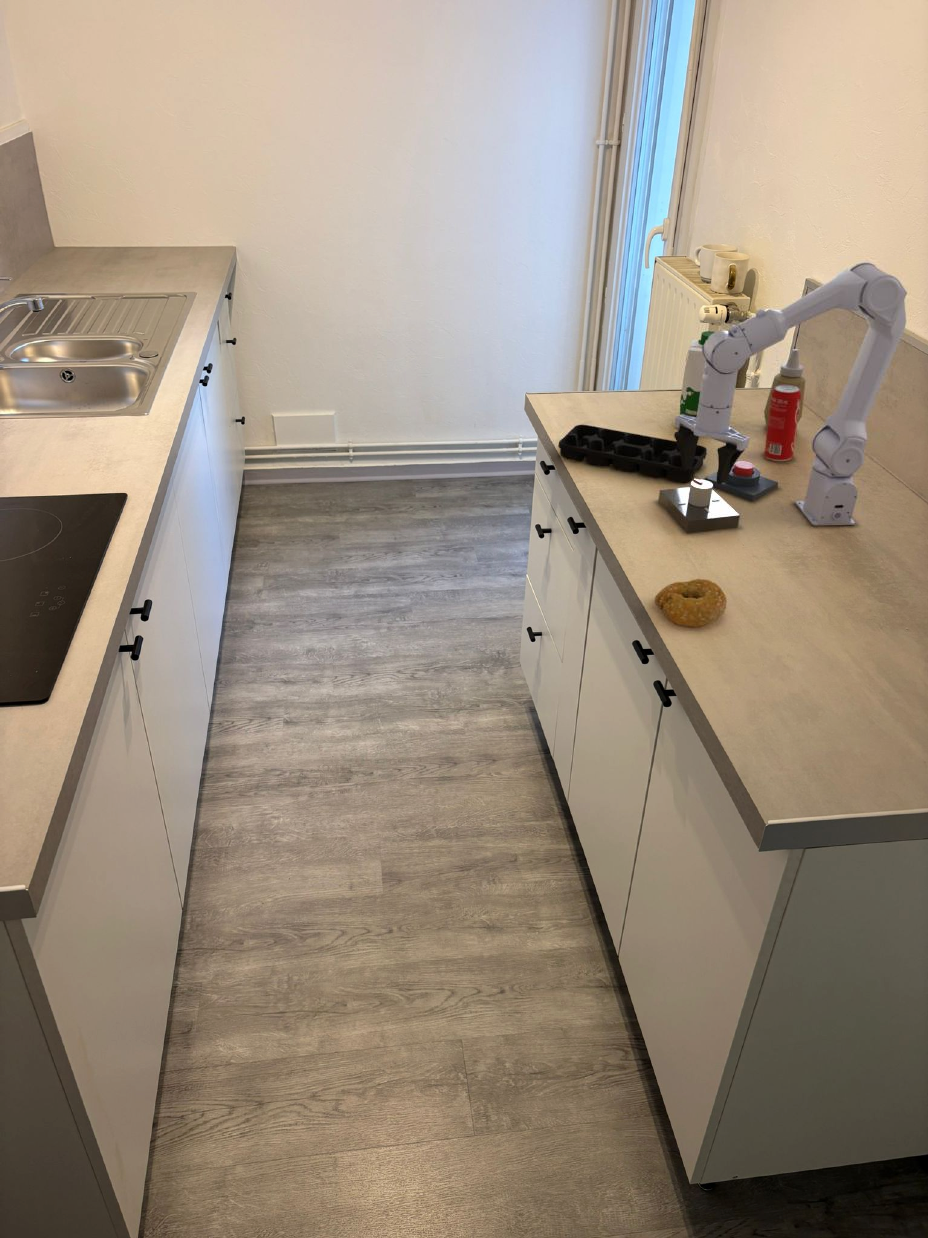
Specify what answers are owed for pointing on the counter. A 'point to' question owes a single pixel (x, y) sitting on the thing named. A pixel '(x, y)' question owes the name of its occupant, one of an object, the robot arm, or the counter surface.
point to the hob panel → (698, 511)
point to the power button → (743, 468)
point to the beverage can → (782, 422)
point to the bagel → (692, 602)
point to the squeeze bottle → (788, 381)
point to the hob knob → (700, 493)
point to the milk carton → (693, 377)
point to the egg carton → (629, 452)
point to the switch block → (744, 485)
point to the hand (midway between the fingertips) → (704, 474)
